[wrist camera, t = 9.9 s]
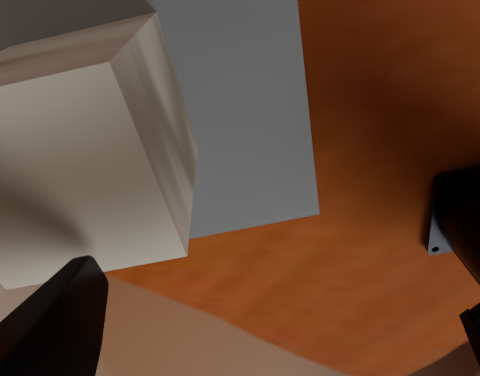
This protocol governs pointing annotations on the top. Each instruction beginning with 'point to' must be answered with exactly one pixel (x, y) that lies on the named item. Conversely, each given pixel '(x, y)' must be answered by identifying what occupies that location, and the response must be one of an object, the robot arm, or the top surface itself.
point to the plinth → (218, 97)
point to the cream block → (93, 152)
